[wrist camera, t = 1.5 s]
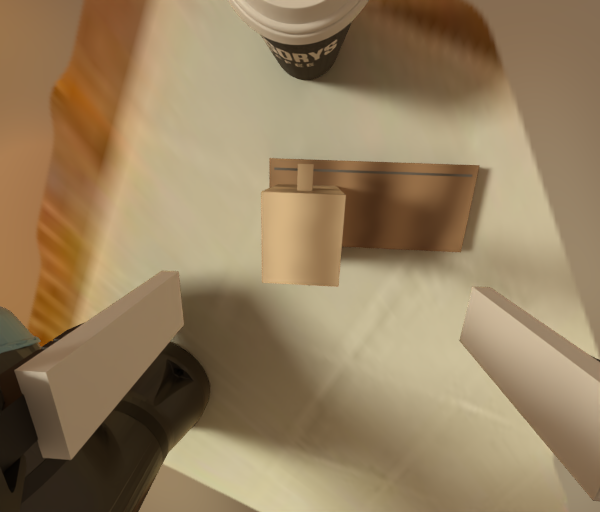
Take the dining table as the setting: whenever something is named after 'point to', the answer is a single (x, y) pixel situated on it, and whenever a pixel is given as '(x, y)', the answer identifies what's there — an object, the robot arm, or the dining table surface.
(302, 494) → the dining table surface
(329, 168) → the plank
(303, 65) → the coffee cup
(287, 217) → the tan block with peg
